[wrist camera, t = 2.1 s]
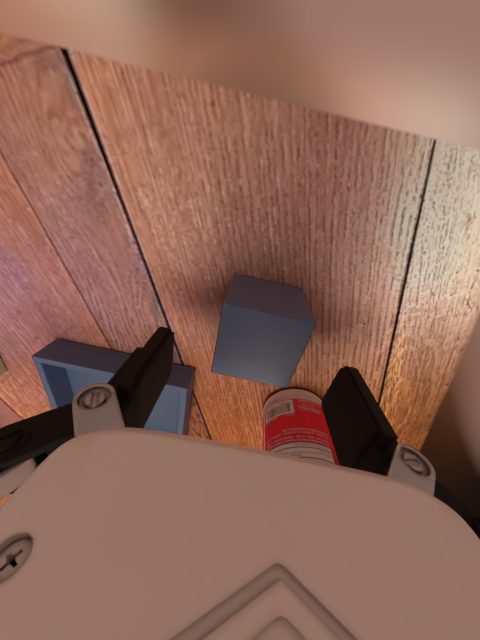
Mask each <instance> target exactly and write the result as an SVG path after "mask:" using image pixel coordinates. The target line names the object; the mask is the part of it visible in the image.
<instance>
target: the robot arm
mask: <svg viewBox="0 0 480 640" xmlns="http://www.w3.org/2000/svg"><path fill="white" fill-rule="evenodd" d="M173 346H174V332H171V329H169V328H164V327H159V328H158V329H157V331H156V332H155V333H154V334H153V336H152V337H151V338H150V339H149V341H148V342H147V343H146V344H145V346H144V347H143V348H141V347H138V348H136V349H135V351H134V352H133V353H132V354H131V355H130V357H129V358H128V359H127V360H126V361H125V362H124V364H123V365H122V366H121V367H120V368H119V370H118V371H117V372H116V373H115V374H114V376H113V377H112V378H111V379H110V380H109V382H108V383H107V384H106V383H96V384H91V385H89V386H86V387H84V388H83V389H81V390H80V391H79V392H77V393H76V394H75V396H74V398H73V400H72V403H70V404H67V405H64V406H61V407H58V408H56V409H53V410H50V411H47V412H44V413H41V414H39V415H36V416H33V417H30V418H27V419H24V420H21V421H19V422H16V423H13V424H10V425H7V426H5V427H3V428H0V500H1V499H2V498H4V497H5V496H7V495H8V494H12V493H13V494H12V495H11V497H10V498H9V499H8V500H7V501H6V502H5V504H4V505H3V506H2V507H1V508H0V640H480V514H479V513H477V512H476V511H475V510H474V509H472V508H471V507H470V506H469V505H467V504H466V503H465V502H464V501H462V500H461V499H460V498H458V497H457V496H456V495H455V494H453V493H452V492H451V491H449V490H448V489H447V488H446V487H445V486H443V485H442V484H441V483H439V482H438V481H437V480H436V479H435V477H436V476H435V471H434V468H433V466H432V465H431V463H430V462H429V460H428V459H427V458H426V457H425V456H424V455H423V454H422V453H420V452H419V451H418V450H417V449H415V448H413V447H412V446H409V445H407V444H398V443H397V441H396V439H397V438H398V437H397V435H396V434H395V432H394V430H393V429H392V427H391V425H390V423H389V422H388V420H387V418H386V417H385V415H384V413H383V412H382V410H381V408H380V407H379V405H378V403H377V401H376V400H375V398H374V396H373V395H372V393H371V391H370V390H369V388H368V386H367V385H366V383H365V381H364V379H363V378H362V376H361V374H360V373H359V371H358V370H357V369H356V368H353V367H348V366H345V367H343V368H341V369H340V370H339V371H338V373H337V375H336V377H335V378H334V380H333V382H332V384H331V385H330V387H329V389H328V391H327V392H326V394H325V396H324V398H323V399H322V402H321V406H322V410H323V413H324V416H325V419H326V423H327V426H328V429H329V432H330V436H331V439H332V442H333V445H334V449H335V452H336V455H337V458H338V462H339V465H340V466H339V465H334V464H329V463H324V462H319V461H314V460H309V459H304V458H300V457H295V456H290V455H284V454H279V453H274V452H269V451H264V450H259V449H254V448H249V447H244V446H239V445H234V444H228V443H223V442H218V441H213V440H208V439H202V438H197V437H192V436H187V435H181V434H175V433H169V432H164V431H158V430H151V429H143V428H144V426H145V424H146V422H147V420H148V418H149V416H150V414H151V412H152V410H153V408H154V406H155V404H156V402H157V400H158V398H159V397H160V395H161V393H162V391H163V389H164V387H165V385H166V383H167V381H168V379H169V377H170V375H171V372H172V363H173ZM31 539H32V540H33V541H32V540H31Z"/></svg>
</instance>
